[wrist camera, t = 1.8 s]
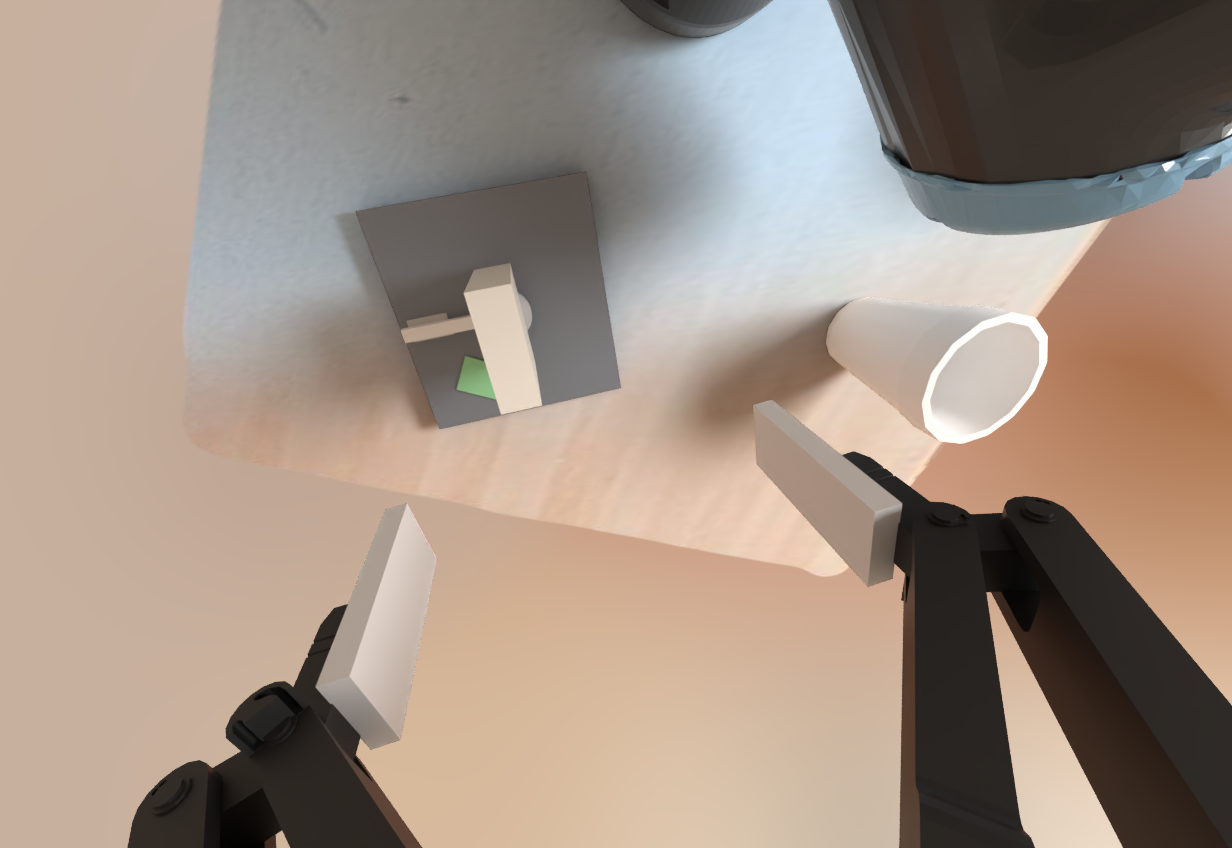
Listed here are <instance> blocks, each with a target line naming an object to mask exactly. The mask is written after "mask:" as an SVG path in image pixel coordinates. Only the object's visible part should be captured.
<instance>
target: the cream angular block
mask: <svg viewBox="0 0 1232 848" xmlns="http://www.w3.org/2000/svg"><path fill="white" fill-rule="evenodd" d="M464 296H465V299H466V302H467V306H468V309H469V312H470V315H467V316H462V317H457V318H452V319H447V320H442V321H437V322H432V323H427V324H423V325H418V326H413V327H408V328H403V329H402V330H401V333H402V336H403V339H404V341H405V343H409V342H414V341H419V340H424V339H429V338H433V337H438V336H443V335H448V334H453V333H458V332H463V331H467V330H472V329H475V332H476V335H477V338H478V341H479V345H480V348H481V351H482V354H483V358H484V361H485V364H486V367H487V371H488V374H489V377H490V380H491V384H492V387H493V390H494V393H495V397H496V400H497V403H498V406H499V410H500V413H501V415H503V414H507V413H511V412H516V411H520V410H524V409H529V408H533V407H538V406H542V402H541V395H540V389H539V383H538V377H537V370H536V364H535V359H534V355H533V351H532V347H531V343H530V339H529V335H528V329H529V327H530V325H531V322H532V312H531V307H530V305H529V303H528V301H527V300H526V298H525V297H524V296H523V295H522V294H520V293H519V292H517V288H516V284H515V280H514V276H513V272H512V268H511V264H510V263H508V264H502V265H497V266H492V267H487V268H482V269H476V270H474V271H473V273H472V276H471V278H470V280H469V282H468V284H467V287H466V289H465V291H464Z"/></svg>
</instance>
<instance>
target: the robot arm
mask: <svg viewBox="0 0 1232 848" xmlns="http://www.w3.org/2000/svg"><path fill="white" fill-rule="evenodd" d="M621 1H622V2H623V3H624V4H625V5H626V6H627V7H628V8H629V9H630V10H631V11H632V12H633V13H635V14H636V15H637V16H638V17H640V18H641V19H642V20H644V21H646V22H647V23H649V24H650V25H652V26H654V27H656V28H658V29H660V30H663V31H665V32H668V33H671V34H674V35H679V36H686V37H705V36H711V35H716V34H719V33H723V32H725V31H728V30H730V29H732V28H734V27H736V26H738V25H740V24H741V23H743V22H745V21H746V20H748V19H749V18H750V17H752V16H753V15H754V14H756V13H757V12H758V11H760V10H761V9H762V8H764V7H765V6H766V5H768V4H769V3H770V2H771V1H772V0H621ZM828 2H829V5H830V7H831V10H832V12H833V15H834V17H835V20H836V22H837V25H838V27H839V30H840V32H841V35H842V37H843V39H844V42H845V44H846V47H847V49H848V52H849V54H850V57H851V59H852V62H853V64H854V67H855V69H856V72H857V74H858V77H859V80H860V82H861V85H862V87H863V90H864V93H865V95H866V98H867V101H868V103H869V106H870V108H871V111H872V114H873V116H874V119H875V122H876V124H877V127H878V129H879V132H880V140H881V145H882V150H883V153H884V156H885V157H886V159H887V161H888V162H889V163H890V164H891V165H892V166H893V167H894V168H895V169H896V170H897V171H898V173H899V175H900V177H901V179H902V182H903V184H904V186H905V188H906V190H907V192H908V194H909V196H910V198H911V200H912V202H913V204H914V205H915V207H916V208H917V209H918V210H919V211H920V212H921V213H922V214H923V215H924V216H926V217H927V218H929V219H930V220H933V221H936V222H940V223H943V224H944V225H946V226H947V227H950V228H951V229H954V230H957V231H962V232H967V233H974V234H984V235H1019V234H1030V233H1039V232H1047V231H1053V230H1060V229H1065V228H1071V227H1076V226H1080V225H1085V224H1089V223H1093V222H1097V221H1101V220H1105V219H1108V218H1112V217H1115V216H1118V215H1122V214H1125V213H1128V212H1131V211H1134V210H1137V209H1139V208H1142V207H1145V206H1148V205H1150V204H1153V203H1155V202H1158V201H1160V200H1163V199H1165V198H1167V197H1169V196H1172V195H1174V194H1176V193H1177V192H1178V191H1179V190H1180V188H1181V186H1182V185H1183V183H1184V180H1190V179H1201V178H1207V177H1209V176H1211V175H1213V174H1214V173H1216V172H1218V171H1219V170H1221V169H1223V168H1224V167H1226V166H1228V165H1229V164H1231V163H1232V0H828ZM753 412H754V428H755V444H756V461H757V465H758V466H759V467H760V468H761V469H762V471H763V472H764V473H765V474H766V475H767V476H768V477H769V478H770V479H771V480H772V482H773V483H774V484H775V485H776V486H777V487H778V488H779V489H780V490H781V492H782V493H783V494H784V495H785V496H786V497H787V498H788V499H789V500H790V502H791V503H792V504H793V505H794V506H795V507H796V508H797V509H798V510H799V511H800V513H801V514H802V515H803V516H804V517H805V518H806V519H807V520H808V521H809V523H810V524H811V525H812V526H813V527H814V528H815V529H816V530H817V531H818V533H819V534H820V535H821V536H822V537H823V538H824V539H825V540H826V541H827V542H828V544H829V545H830V546H831V547H832V548H833V549H834V550H835V551H836V552H837V554H838V555H839V556H840V557H841V558H842V559H843V560H844V561H845V562H846V564H847V565H848V566H849V567H850V568H851V569H852V570H853V571H854V572H855V573H856V574H857V576H858V577H859V578H860V579H861V580H862V581H863V582H864V583H865V585H866V586H867V587H869V586H872V585H875V584H878V583H881V582H884V581H887V580H890V579H893V571H894V563H895V564H896V565H897V566H898V567H899V568H900V569H901V570H902V571H903V572H904V573H905V579H904V586H903V592H902V599H901V600H902V601H904V614H903V616H904V617H903V672H902V674H903V675H902V730H901V731H902V732H901V786H900V787H901V788H900V844H899V848H1035V847H1034V844H1033V842H1032V839H1031V837H1030V836H1029V835H1028V834H1027V833H1026V832H1025V831H1024V830H1023V827H1022V824H1021V820H1020V815H1019V808H1018V803H1017V795H1016V789H1015V782H1014V775H1013V768H1012V762H1011V755H1010V749H1009V742H1008V735H1007V728H1006V721H1005V715H1004V708H1003V701H1002V695H1001V688H1000V682H999V675H998V668H997V662H996V654H995V648H994V641H993V635H992V628H991V621H990V614H989V608H988V601H987V594H986V592H991V593H992V595H993V597H994V599H995V600H996V603H997V604H998V606H999V608H1000V610H1001V612H1002V614H1003V616H1004V618H1005V620H1006V622H1007V624H1008V626H1009V628H1010V630H1011V632H1012V633H1013V635H1014V637H1015V639H1016V641H1017V643H1018V645H1019V647H1020V649H1021V651H1022V653H1023V655H1024V656H1025V659H1026V661H1027V663H1028V664H1029V666H1030V668H1031V670H1032V672H1033V674H1034V676H1035V678H1036V680H1037V682H1038V684H1039V686H1040V688H1041V690H1042V691H1043V693H1044V695H1045V697H1046V699H1047V701H1048V703H1049V705H1050V707H1051V709H1052V711H1053V713H1054V715H1055V717H1056V719H1057V720H1058V723H1059V724H1060V726H1061V728H1062V730H1063V732H1064V734H1065V736H1066V738H1067V740H1068V742H1069V744H1070V746H1071V748H1072V749H1073V751H1074V753H1075V755H1076V757H1077V759H1078V761H1079V763H1080V765H1081V767H1082V769H1083V771H1084V773H1085V775H1086V777H1087V778H1088V781H1089V783H1090V784H1091V786H1092V788H1093V790H1094V792H1095V794H1096V795H1097V798H1098V800H1099V802H1100V804H1101V805H1102V808H1103V810H1104V811H1105V813H1106V815H1107V817H1108V819H1109V821H1110V823H1111V825H1112V827H1113V829H1114V831H1115V832H1116V834H1117V836H1118V839H1119V841H1120V842H1121V844H1122V846H1123V848H1232V706H1231V704H1230V703H1229V702H1228V700H1227V699H1226V698H1225V697H1224V696H1223V694H1222V693H1221V692H1220V691H1219V690H1218V688H1217V687H1216V686H1215V685H1214V684H1213V682H1212V681H1211V680H1210V679H1209V678H1208V677H1207V675H1206V674H1205V673H1204V672H1203V671H1202V669H1201V668H1200V667H1199V666H1198V665H1197V663H1196V662H1195V661H1194V660H1193V659H1192V657H1191V656H1190V655H1189V654H1188V653H1187V651H1186V650H1185V649H1184V648H1183V647H1182V645H1181V644H1180V643H1179V642H1178V641H1177V639H1176V638H1175V637H1174V636H1173V635H1172V633H1171V632H1170V631H1169V630H1168V629H1167V627H1166V626H1165V625H1164V624H1163V623H1162V621H1161V620H1160V619H1159V618H1158V617H1157V616H1156V614H1155V613H1154V612H1153V611H1152V609H1151V608H1150V607H1149V606H1148V605H1147V603H1145V601H1144V600H1143V599H1142V598H1141V596H1140V595H1139V594H1138V593H1137V592H1136V591H1135V589H1134V588H1133V587H1132V586H1131V584H1130V583H1129V582H1128V581H1127V580H1126V578H1125V577H1124V576H1123V575H1122V574H1121V572H1120V571H1119V570H1118V569H1117V568H1116V567H1115V565H1114V564H1113V563H1112V562H1111V561H1110V559H1109V558H1108V557H1107V556H1106V554H1105V553H1104V552H1103V551H1102V550H1101V549H1100V547H1099V546H1098V545H1097V544H1096V542H1095V541H1094V540H1093V539H1092V538H1091V537H1090V536H1089V534H1088V533H1087V532H1086V531H1085V529H1084V528H1083V527H1082V526H1081V525H1080V523H1079V522H1078V521H1077V520H1076V519H1075V517H1074V516H1073V515H1072V514H1071V513H1070V512H1069V511H1068V510H1066V509H1065V508H1064V507H1062V506H1060V505H1058V504H1056V503H1054V502H1052V501H1049V500H1046V499H1042V498H1038V497H1028V496H1023V497H1015V498H1012V499H1010V500H1008V501H1007V503H1006V504H1005V506H1004V510H1003V513H992V514H969V513H968V512H967V511H966V510H964V509H962V508H960V507H958V506H955V505H952V504H948V503H944V502H930V501H928V500H927V499H926V498H924V497H923V496H922V495H920V494H919V493H918V492H916V491H915V490H913V489H912V488H911V487H910V486H908V485H907V484H905V483H904V482H903V481H901V480H900V479H899V478H897V477H896V476H893V474H892V473H891V472H889V471H888V470H887V469H883V467H882V466H881V465H880V464H878V463H877V462H876V461H874V460H873V459H872V458H870V457H867V456H865V455H862V454H859V453H857V452H850V453H847V454H844V455H841V454H840V453H838V452H837V451H836V450H835V449H833V448H832V447H831V446H830V445H828V444H827V443H826V442H825V441H823V440H822V439H821V438H820V437H818V436H817V435H816V434H815V433H813V432H812V431H811V430H810V429H808V428H807V427H806V426H805V425H803V424H802V423H801V422H799V421H798V420H797V419H796V418H794V417H793V416H792V415H791V414H789V413H788V412H787V411H786V410H784V409H783V408H782V407H781V406H779V405H778V404H777V403H776V402H774V401H773V400H768V401H765V402H761V403H758V404H754V405H753ZM436 561H437V558H436V556H435V554H434V552H433V551H432V549H431V547H430V545H429V543H428V542H427V539H426V538H425V536H424V534H423V532H422V530H421V528H420V527H419V525H418V523H417V521H416V519H415V517H414V515H413V513H412V512H411V510H410V508H409V506H408V504H407V503H406V504H403V505H399V506H396V507H393V508H389V509H385V512H384V514H383V517H382V520H381V522H380V524H379V527H378V529H377V532H376V535H375V537H374V540H373V542H372V545H371V547H370V550H369V552H368V555H367V557H366V560H365V562H364V565H363V568H362V570H361V573H360V575H359V578H358V580H357V583H356V585H355V588H354V590H353V593H352V595H351V598H350V601H349V603H348V604H347V605H343V606H340V607H336V608H334V609H333V610H332V611H331V613H330V614H329V615H328V617H327V618H326V619H325V620H324V621H323V623H322V624H321V625H320V628H319V630H318V632H317V634H316V637H315V639H314V644H312V646H311V648H310V650H309V653H308V658H306V660H305V662H304V664H303V666H302V669H301V671H300V673H299V676H298V678H297V680H296V682H295V685H294V687H292V686H291V685H290V684H288V683H286V682H285V681H283V682H274V683H272V684H269V685H267V686H264V687H262V688H261V689H259V690H258V691H256V692H255V693H253V694H252V695H251V696H249V697H248V698H247V699H246V700H245V701H244V702H243V703H242V704H241V705H240V706H239V707H238V708H237V710H236V711H235V712H234V714H233V715H232V716H231V718H230V720H229V723H228V725H227V727H226V738H227V739H228V740H229V741H230V742H231V743H232V744H234V745H235V746H236V747H237V748H238V749H239V750H241V752H239V753H237V754H236V755H234V756H233V757H231V758H229V759H227V760H226V761H224V762H222V763H220V764H219V765H217V766H215V767H214V768H211V767H210V766H209V765H208V764H207V763H205V762H202V761H200V760H198V761H193V762H188V763H186V764H184V765H182V766H181V767H179V768H177V769H175V770H174V771H172V772H171V773H170V774H168V775H167V776H166V777H164V778H163V779H162V780H161V781H160V782H159V783H158V784H157V785H156V786H155V787H154V788H153V789H152V790H151V791H150V792H149V793H148V794H147V796H146V797H145V799H144V800H143V801H142V803H141V804H140V806H139V807H138V809H137V812H136V814H135V817H134V819H133V823H132V827H131V833H130V838H129V843H128V848H276V835H275V834H277V833H278V832H280V831H281V830H282V831H283V833H284V834H285V837H286V839H287V841H288V844H289V846H290V848H422V847H421V845H420V844H419V842H418V841H417V840H416V838H415V837H414V836H413V834H412V833H411V831H410V830H409V828H408V827H407V826H406V824H405V823H404V821H403V820H402V819H401V817H400V816H399V814H398V813H397V811H396V810H395V808H394V807H393V806H392V804H391V803H390V801H389V800H388V799H387V797H386V796H385V794H384V793H383V791H382V790H381V789H380V787H379V786H378V784H377V783H376V782H375V780H374V779H373V777H372V776H371V774H370V773H369V772H368V770H367V769H366V767H365V766H364V764H363V763H362V762H361V761H360V759H359V758H358V757H357V756H356V751H357V748H358V744H359V740H360V738H361V739H362V740H363V741H364V743H365V744H366V745H367V746H368V747H369V748H370V750H372V749H375V748H378V747H381V746H384V745H387V744H390V743H393V742H396V741H399V740H401V736H402V731H403V725H404V721H405V716H406V711H407V706H408V701H409V696H410V691H411V686H412V681H413V676H414V671H415V666H416V661H417V656H418V651H419V646H420V641H421V636H422V631H423V626H424V621H425V616H426V611H427V606H428V601H429V596H430V591H431V586H432V581H433V576H434V571H435V566H436Z"/></svg>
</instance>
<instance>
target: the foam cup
mask: <svg viewBox="0 0 1232 848" xmlns="http://www.w3.org/2000/svg"><path fill="white" fill-rule="evenodd" d="M1047 342H1048V336H1047V334H1046V333H1045V331H1044V330H1043V328H1042V327H1041V325H1040V324H1039V323H1038V321H1037V319H1036V318H1034V317H1030V316H1026V315H1022V314H1017V313H1013V312H1009V311H1005V310H1000V309H996V308H992V307H987V306H983V305H979V304H978V305H975V306H972V307H968V306H958V305H947V304H937V303H926V302H915V301H905V300H894V299H884V298H873V297H870V298H868V297H863V298H860V299H857V300H854V301H851V302H849V303H848V304H847V305H846V306H844V307H843V308H842V309H841V310H840V311H838V312H837V314H836V316H835V317H834V319H833V320H832V322H831V324H830V325H829V328H828V333H827V338H826V345H827V349H828V353H829V355H830V356H831V357H832V358H833V359H834V360H835V361H836V362H838V363H839V364H840V365H841V366H842V367H844V368H845V369H846V370H847V371H849V372H850V373H851V374H852V375H854V376H855V377H856V378H858V379H859V380H860V381H861V382H863V383H864V384H865V385H866V386H868V387H869V388H870V389H872V390H873V391H874V392H875V393H877V394H878V395H879V396H880V397H882V398H883V399H884V400H886V401H887V402H888V403H889V404H891V405H892V406H893V407H894V408H896V409H897V410H898V411H900V414H902V415H903V416H904V417H905V418H906V419H907V420H908V421H909V422H910V423H911V424H912V425H913V426H914V427H916V428H918V429H919V430H921V431H923V432H925V433H926V434H928V435H930V436H932V437H933V438H935V439H937V440H938V441H942V442H952V443H960V444H962V443H965V442H969V441H971V440H975V439H978V438H981V437H984V436H986V435H988V434H990V433H991V432H993V431H994V430H996V429H997V428H998V427H1000V426H1001V425H1002V424H1004V423H1005V422H1006V421H1008V420H1009V419H1011V418H1012V417H1013V416H1014V415H1015V414H1016V413H1017V412H1018V410H1019V409H1020V408H1021V407H1022V405H1023V404H1024V403H1025V402H1026V401H1027V399H1028V398H1029V397H1030V396H1031V395H1032V393H1033V392H1034V391H1035V389H1036V386H1037V384H1038V382H1039V380H1040V377H1041V375H1042V373H1043V370H1044V368H1045V365H1046V363H1047Z"/></svg>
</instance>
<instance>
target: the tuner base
mask: <svg viewBox="0 0 1232 848" xmlns="http://www.w3.org/2000/svg"><path fill="white" fill-rule="evenodd" d="M356 215H357V217H358V220H359V222H360V225H361V228H362V230H363V233H364V235H365V238H366V240H367V243H368V246H369V248H370V251H371V253H372V256H373V259H374V261H375V264H376V266H377V269H378V271H379V274H380V277H381V279H382V282H383V284H384V287H385V290H386V292H387V295H388V297H389V300H390V303H391V305H392V308H393V310H394V313H395V315H396V318H397V321H398V323H399V326H400V328H401V330H402V329H403V328H408V327H413V326H418V325H423V324H427V323H432V322H437V321H442V320H447V319H452V318H457V317H462V316H467V315H470V312H469V309H468V306H467V302H466V299H465V296H464V291H465V289H466V287H467V284H468V282H469V280H470V278H471V276H472V273H473V271H474V270H476V269H482V268H487V267H492V266H497V265H502V264H508V263H510V264H511V268H512V272H513V276H514V280H515V284H516V288H517V292H519V293H520V294H522V295H523V296H524V297H525V298H526V300H527V301H528V303H529V305H530V307H531V312H532V322H531V325H530V327H529V329H528V335H529V339H530V343H531V347H532V351H533V355H534V359H535V364H536V370H537V377H538V383H539V389H540V395H541V402H542V406H544V405H548V404H553V403H557V402H562V401H566V400H570V399H575V398H579V397H583V396H588V395H592V394H597V393H601V392H605V391H610V390H614V389H618V388H621V385H620V379H619V373H618V366H617V360H616V354H615V348H614V342H613V336H612V329H611V323H610V317H609V311H608V305H607V299H606V292H605V286H604V280H603V274H602V268H601V262H600V255H599V249H598V243H597V237H596V231H595V225H594V218H593V212H592V206H591V200H590V194H589V188H588V181H587V175H586V172H581V173H575V174H570V175H564V176H558V177H552V178H547V179H541V180H535V181H529V182H523V183H518V184H512V185H506V186H500V187H494V188H489V189H483V190H477V191H471V192H466V193H460V194H454V195H448V196H442V197H437V198H431V199H425V200H419V201H413V202H408V203H402V204H396V205H390V206H385V207H379V208H373V209H367V210H361V211H356ZM406 344H407V346H408V349H409V352H410V354H411V357H412V359H413V362H414V365H415V367H416V370H417V372H418V375H419V377H420V380H421V383H422V385H423V388H424V390H425V393H426V396H427V398H428V401H429V403H430V406H431V409H432V411H433V414H434V416H435V419H436V421H437V424H438V427H439V429H444V428H448V427H452V426H457V425H461V424H466V423H470V422H474V421H479V420H483V419H487V418H492V417H496V416H500V415H501V413H500V410H499V406H498V403H497V400H496V397H495V393H494V390H493V387H492V384H491V380H490V377H489V374H488V371H487V367H486V364H485V361H484V358H483V354H482V351H481V348H480V345H479V341H478V338H477V335H476V332H475V329H472V330H467V331H463V332H458V333H453V334H448V335H443V336H438V337H433V338H429V339H424V340H419V341H414V342H409V343H406ZM538 407H540V406H538ZM533 408H535V407H533ZM529 409H531V408H529ZM524 410H527V409H524ZM520 411H522V410H520ZM516 412H518V411H516ZM511 413H514V412H511ZM507 414H509V413H507ZM503 415H505V414H503Z"/></svg>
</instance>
